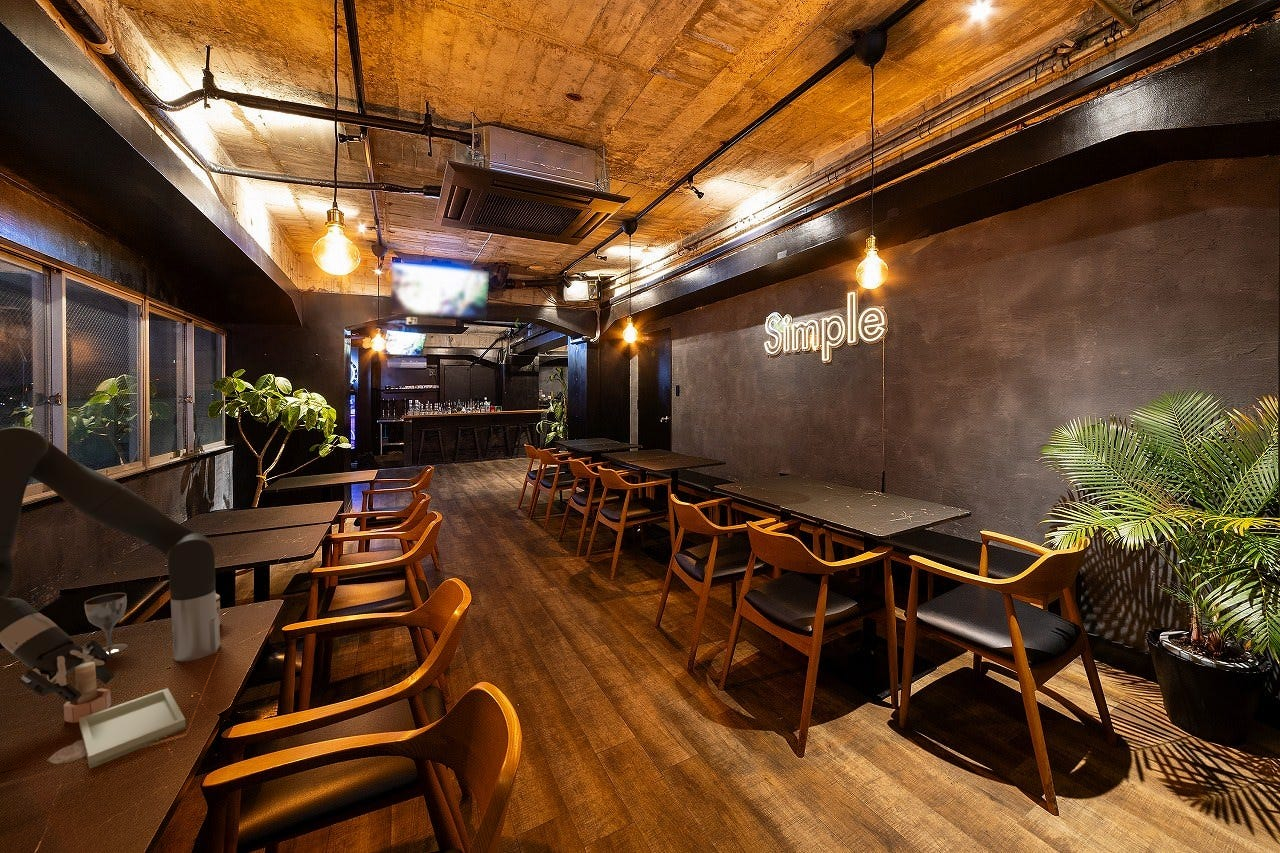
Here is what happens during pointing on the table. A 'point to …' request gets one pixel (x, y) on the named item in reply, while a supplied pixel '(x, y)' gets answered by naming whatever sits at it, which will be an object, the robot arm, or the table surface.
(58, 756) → the flatbread
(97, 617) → the wine glass
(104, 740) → the sage tray
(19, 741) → the table surface
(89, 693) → the beech pin
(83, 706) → the pin holder cup
